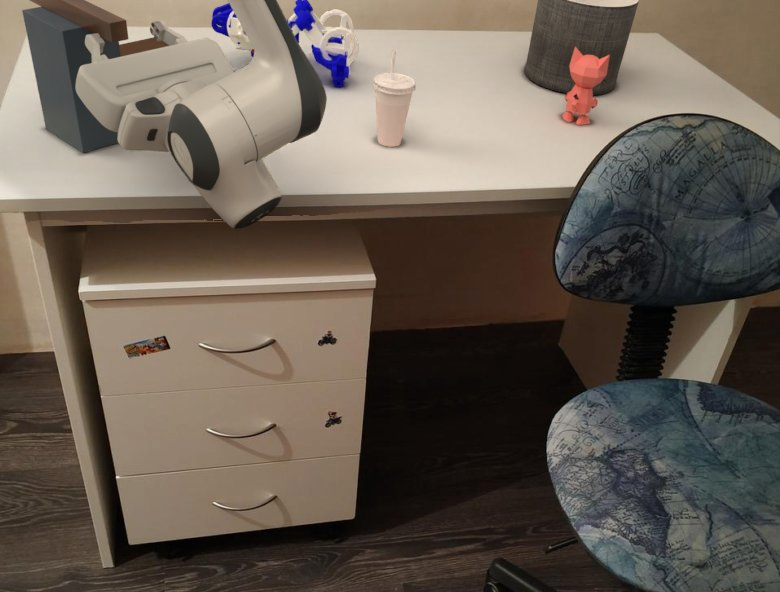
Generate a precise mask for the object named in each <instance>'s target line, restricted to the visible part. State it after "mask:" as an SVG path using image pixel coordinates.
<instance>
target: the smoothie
mask: <svg viewBox="0 0 780 592" xmlns="http://www.w3.org/2000/svg"><path fill="white" fill-rule="evenodd" d="M396 53H397V51H396V50H395V49H393V50H391V60H390V70H389V72H384V73H380V74H377V75H375V77H374V78H373V83H372V85H373V88H374V89H375V108H376V110H375V111H376V134H377V135H376V137H377V143H378V144H379V145H382V146H384V147H389V148H390V147H394V148H395V147H398V146H401V144H402V141H403V140H402V139H403V135H404V130H405V127H406V121H407V119H408V118H407V117H408V113H409V110H410V109H409V108H410V105H411V101H412V97H413V93H414V92H415V91H416V81H415V79H414V78H412V77H411V76H409V75H406V74H403V73H397V72H395V65H396V64H395V63H396V56H397V55H396Z"/></svg>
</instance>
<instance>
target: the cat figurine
mask: <svg viewBox="0 0 780 592" xmlns="http://www.w3.org/2000/svg"><path fill="white" fill-rule="evenodd" d="M609 57H610V55H608V56H606V57H603V58H601V59H599V58H598V57H596V56H594V55H584V56H583V55H582V54H581V52H580V51H579V50H578V49H577V48H576V46H575V48H574V52H573V55H572V58H571V62H570V65H569V67H570V73H571V77H572V79H573V80H574V82H575V83H576V84H575V86H574V87H573V89H572V90H571V91H570V92H568V93H565V96H564V100H565V101H566V107H565V108H566V109H565V110H566V111H565V112H564V113H563V114H562V115H561V117H562V119H563V120H564V121H565V122H567V123H572V122H574V118H575V117H574V114H575V115H578V118H577V119H576V120H575V125H577V126H583V125H589V124H591V120H590V116H588V115H587V114H589V113H591V110H593V109H594V108H596V107H598V103H599V102H598V101H599V100H598V98H597V97H596V96H594V95H593V92H592V87H594V86H596V85H597V84H599V83H601V82H602V80H603V79H604V78H605V76H606V75H607V69H608V63H609ZM603 81H605V80H603ZM605 82H606V81H605Z"/></svg>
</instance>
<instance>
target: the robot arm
mask: <svg viewBox="0 0 780 592" xmlns="http://www.w3.org/2000/svg"><path fill="white" fill-rule="evenodd" d="M227 2H228V3H229V4H230V6H231V7H232V9H233V11H234V13H235V15H236V17H237V18H238V20H239V22H240V24H241V26H242V27H243V29H244V31H245V33H246V35H247V37H248V38H249V40H250V42H251V44H252V46H253V48H254V56H253V57H252V59H251V60H250V61H249V62H248V64H246V65H244V66H243V67H241V68H239V69H237V70H236V71H234V68H233V67H232V65H231V62H230V61H229V59H228V57H227V56H226V54H225V52H224V51H223V49H222V48H221V47H220V45H219V43H218V42H216V41H215V40H213V39H211V38H209V37H203V38H198V39H194V40H193V39H192V40H191V41H190V40H187V39H186V37H185V36H183V35H181V34H180V33H178V32H176V31H174V30H173V29H171V28H169V27H168V25H167V24H166V22H165V21H164V20H163V19H161V20H155V21H152V22H151V23H150V25H151V26H150V27H149V31H150V34H151V35H152V36H153V37H154V38H155V39H156V41H161V40H162V41H164V42H165V43H167V44H168V45H169V46H167V47H162V48H158V49H153V50H149V51H144V52H140V53H135V54H131V55H126V56H122V57H117V58H113V59H108V58H107V56H106V55H100V53H103V47H104V44H105V42H104V40H103V39H102V38H100V35H99V34H98V33H95V34H89V35H86V38H85V45H86V47H87V49H88V50H89V51H90V53H91V54H92V63H90V64H85V65H82V66H80V68H79V71H78V74H77V78H76V87H75V88H76V92H77V94H78V96H79V98H80V99H81V100H82V102H83V103H84V104H85V106H86V107H87V108H88V109H89V111H90V112H91V113H92V114H93V116H94V117H95V118H96V119H97V120H98V121H99V122H100V123H101V124H102V125H103V126H104V127H106V128H107V129H109V130H111V131H113V132H118V137H117V140H118V143H117V144H119V146H120V147H121V148H122V149H123V150H125V151H131V152H132V151H134V152H135V151H137V152H138V151H141V152H143V151H145V152H146V151H149V152H162V153H169V154H170V155H171V157H172V158H173V159H174V161H175V163H176V165H177V166H178V168H179V169H180V170H181V172H182V173H183V175H184V176H185V177H186V179H187V180H188V181H189V183H191V184H192V185H193V186H194V188H195V190H196V191H197V192H198V194H200V196H201V197H202V198H203V200H204V201H205V202H206V203H207V204H208V205H209V207H210V208H211V209H212V210H213V211H214V212H215V213H216V214H217V215H218V217H220V218H221V219H222V220H223V222H225V223H226V224H227V226H229V227H230V228H232V229H244V228H247V227H250V226H252V225H254V224H255V223H257V222H258V221H260V220H261V219H263V218H265V217H266V216H268V215H269V214H270V213H271V212H273V211H274V210H275V209H276V208H277V207H278V206H279V205H280V202H281V200H282V197H283V196H282V192H281V191H280V188H279V186H278V184H277V182H276V181H275V179H274V177H273V176H272V174H271V172H270V170H269V168H268V167H267V165H266V164H265V162H264V160H263V159H264V158H265V157H268V156H270V155H271V154H272V153H274V152H277V151H278V150H279V149H281V148H283V147H285V146H287V145H288V144H292V143H295V142H296V141H299V140H302V139H303V138H305V137H307V136H308V137H309V136H310V135H312V134H314V133H317V132H318V130H319V128H320V126H321V124H322V122H323V118H324V116H325V112H326V108H327V100H328V97H327V93H326V89H325V86H324V84H323V82H322V80H321V78H320V76H319V74H318V73H317V71H316V69H315V68H314V66H313V64H312V63H311V61H310V59H309V57H308V56H307V55H306V53H305V52H304V50H303V48H302V47H301V45H300V42H299V43H298V42H297V40H296V38H295V36H294V34H293V32H292V30H291V28H290V26H289V24H288V22H287V20H286V19H287V18H286V16H285V14H284V11H283V12H282V10H283V9H282V8H281V6H280V4H279V2H278V0H227ZM281 9H282V10H281Z"/></svg>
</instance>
